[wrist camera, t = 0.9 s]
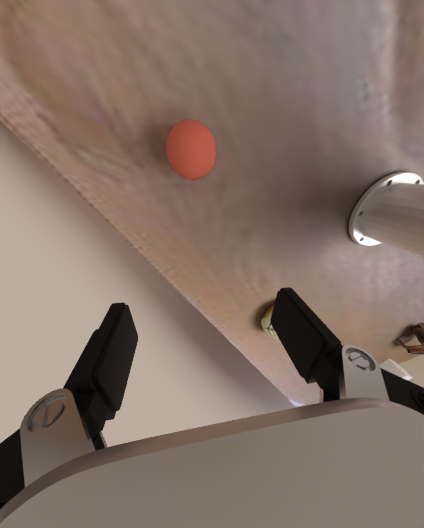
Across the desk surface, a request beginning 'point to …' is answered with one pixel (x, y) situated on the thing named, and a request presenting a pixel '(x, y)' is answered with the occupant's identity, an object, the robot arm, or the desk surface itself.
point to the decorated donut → (268, 323)
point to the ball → (191, 149)
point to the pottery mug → (422, 336)
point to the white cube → (395, 369)
